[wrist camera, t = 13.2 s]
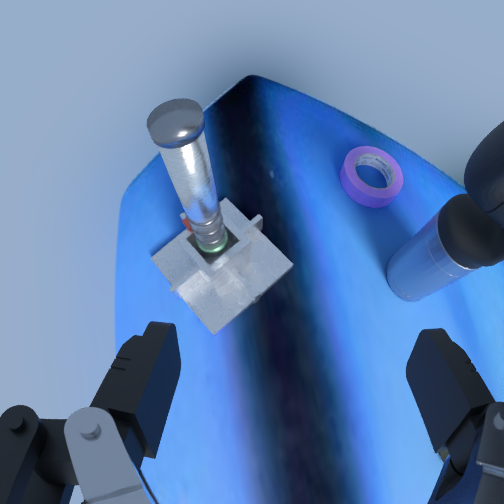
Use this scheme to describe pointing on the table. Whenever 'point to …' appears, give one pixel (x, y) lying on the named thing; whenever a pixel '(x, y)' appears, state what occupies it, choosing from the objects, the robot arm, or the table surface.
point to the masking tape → (360, 189)
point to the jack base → (222, 269)
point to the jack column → (190, 169)
